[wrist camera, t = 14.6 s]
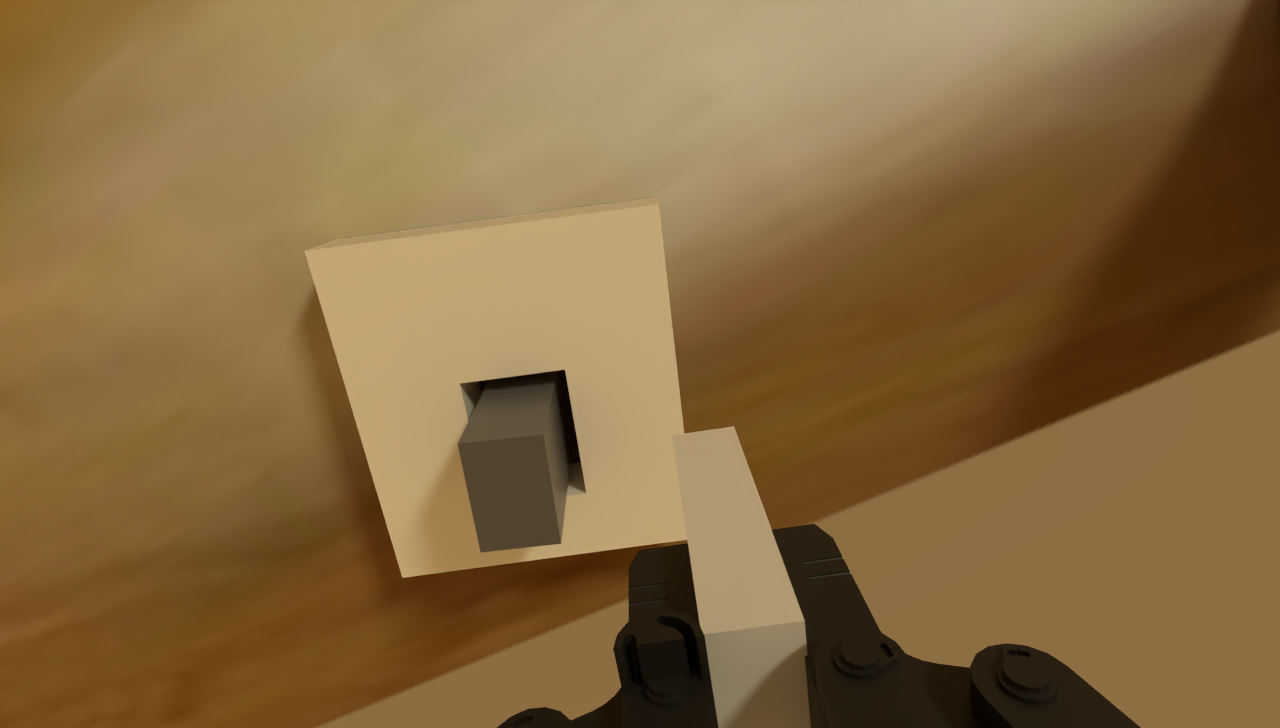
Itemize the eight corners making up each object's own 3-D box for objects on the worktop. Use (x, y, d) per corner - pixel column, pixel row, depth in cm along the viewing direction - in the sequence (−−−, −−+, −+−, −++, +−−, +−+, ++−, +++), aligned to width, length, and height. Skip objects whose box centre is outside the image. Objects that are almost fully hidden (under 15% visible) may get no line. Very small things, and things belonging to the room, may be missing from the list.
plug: (558, 363, 39) (543, 434, 30) (571, 450, 41) (561, 543, 32) (493, 370, 39) (457, 443, 30) (509, 457, 41) (480, 552, 32)
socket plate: (653, 197, 36) (658, 204, 32) (688, 503, 43) (695, 538, 39) (336, 239, 36) (304, 250, 32) (420, 539, 43) (402, 577, 39)
